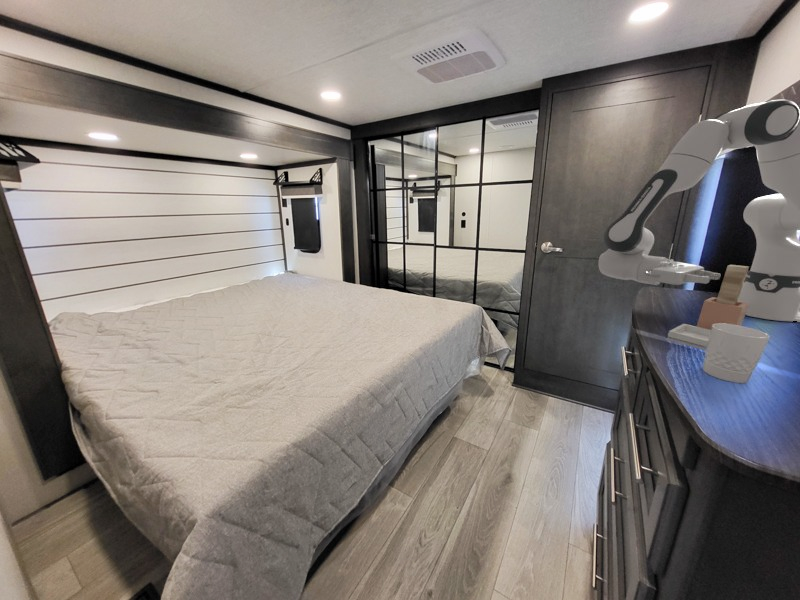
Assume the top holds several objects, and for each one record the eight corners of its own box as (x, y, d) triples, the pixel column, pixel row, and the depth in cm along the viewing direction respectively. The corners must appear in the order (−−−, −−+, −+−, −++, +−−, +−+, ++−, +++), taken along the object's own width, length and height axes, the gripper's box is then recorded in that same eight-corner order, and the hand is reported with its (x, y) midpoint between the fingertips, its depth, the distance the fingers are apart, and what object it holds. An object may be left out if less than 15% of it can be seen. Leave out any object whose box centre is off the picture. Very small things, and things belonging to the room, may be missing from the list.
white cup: (764, 387, 59) (783, 339, 57) (716, 382, 61) (732, 335, 58) (731, 367, 67) (746, 325, 64) (689, 363, 68) (702, 321, 66)
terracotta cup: (703, 325, 92) (712, 297, 90) (738, 334, 86) (749, 303, 84) (695, 330, 88) (704, 300, 86) (731, 339, 82) (742, 307, 80)
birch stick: (711, 326, 89) (731, 264, 84) (727, 329, 86) (749, 266, 81) (707, 328, 87) (727, 265, 82) (724, 332, 85) (746, 267, 80)
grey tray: (681, 331, 87) (683, 323, 86) (736, 345, 78) (739, 336, 78) (666, 339, 81) (669, 331, 81) (724, 355, 72) (727, 346, 72)
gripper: (643, 263, 91) (706, 271, 80) (669, 258, 102) (728, 264, 91) (638, 284, 93) (699, 294, 82) (664, 277, 103) (721, 285, 92)
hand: (714, 278), depth 86 cm, fingers open, 8 cm apart
